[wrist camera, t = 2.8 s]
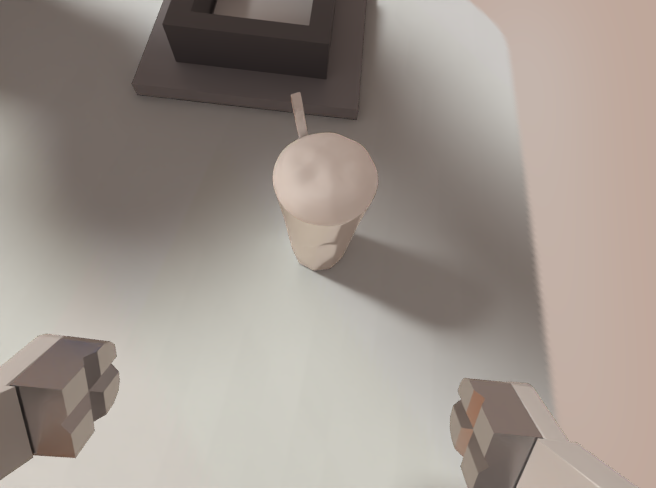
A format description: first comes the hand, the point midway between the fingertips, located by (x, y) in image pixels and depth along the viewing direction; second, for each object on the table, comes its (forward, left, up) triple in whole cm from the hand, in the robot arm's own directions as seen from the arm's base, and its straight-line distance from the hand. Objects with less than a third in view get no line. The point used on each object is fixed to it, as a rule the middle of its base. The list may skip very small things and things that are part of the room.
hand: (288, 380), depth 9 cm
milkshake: (0, +9, -13) cm, 16 cm away
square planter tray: (-6, +27, -13) cm, 30 cm away
